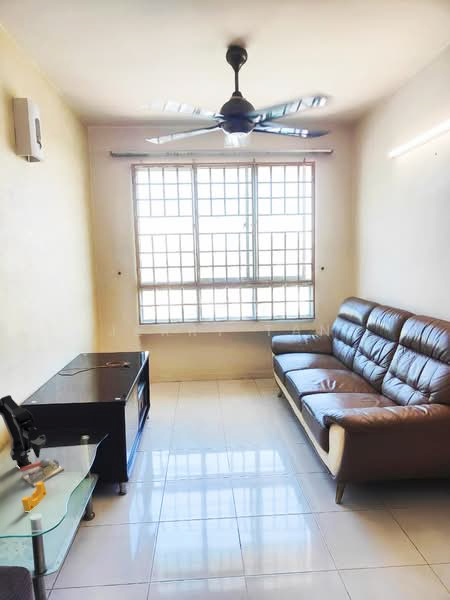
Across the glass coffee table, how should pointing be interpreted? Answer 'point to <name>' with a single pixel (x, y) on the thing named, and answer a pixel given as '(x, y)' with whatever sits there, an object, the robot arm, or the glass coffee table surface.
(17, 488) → the glass coffee table surface
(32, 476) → the valve body
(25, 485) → the glass coffee table surface
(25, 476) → the board
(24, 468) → the lever
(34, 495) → the pipe clamp
